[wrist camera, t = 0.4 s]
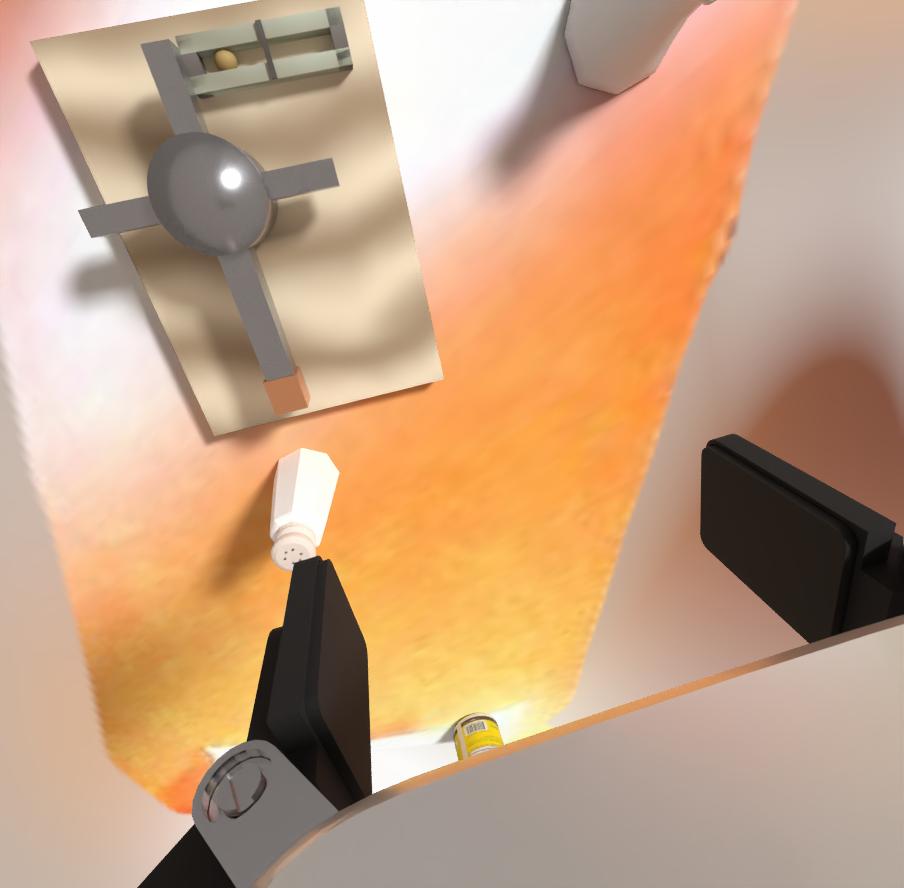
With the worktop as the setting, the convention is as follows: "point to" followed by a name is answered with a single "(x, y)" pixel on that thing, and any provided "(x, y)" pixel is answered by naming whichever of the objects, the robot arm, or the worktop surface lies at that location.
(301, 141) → the wooden flat board
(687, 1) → the flask
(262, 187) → the capstan
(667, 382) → the worktop surface
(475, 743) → the supplement bottle
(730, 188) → the worktop surface
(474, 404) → the worktop surface
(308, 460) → the pepper shaker
